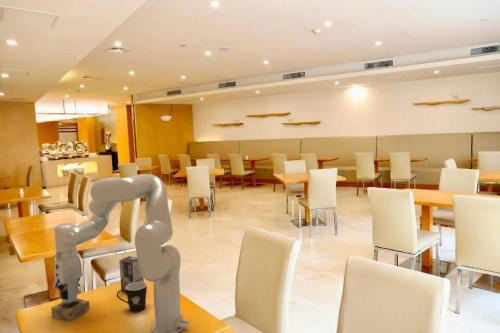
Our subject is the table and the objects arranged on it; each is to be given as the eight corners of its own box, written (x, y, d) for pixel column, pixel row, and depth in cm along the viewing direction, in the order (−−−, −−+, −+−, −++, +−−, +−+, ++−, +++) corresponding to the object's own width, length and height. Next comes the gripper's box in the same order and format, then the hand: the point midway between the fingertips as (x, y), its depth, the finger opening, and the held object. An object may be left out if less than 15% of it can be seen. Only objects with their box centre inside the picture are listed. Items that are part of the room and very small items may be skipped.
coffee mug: (151, 304, 158) (150, 282, 157) (140, 314, 150) (139, 291, 149) (128, 302, 162) (127, 280, 161) (116, 311, 153) (114, 288, 152)
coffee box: (144, 292, 171) (143, 258, 170) (134, 297, 166) (132, 263, 164) (131, 288, 176) (129, 255, 175) (120, 293, 171) (118, 259, 169)
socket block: (89, 310, 155) (88, 301, 155) (69, 321, 146) (69, 312, 146) (72, 306, 159) (71, 297, 159) (51, 317, 150) (51, 307, 149)
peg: (77, 299, 153) (75, 275, 152) (69, 303, 149) (67, 279, 148) (70, 297, 155) (68, 274, 154) (62, 301, 151) (60, 278, 150)
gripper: (55, 261, 141) (58, 307, 143) (89, 248, 156) (92, 289, 158) (41, 259, 144) (45, 304, 146) (76, 246, 159) (79, 287, 161)
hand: (69, 296), depth 152 cm, fingers closed on peg, 4 cm apart
